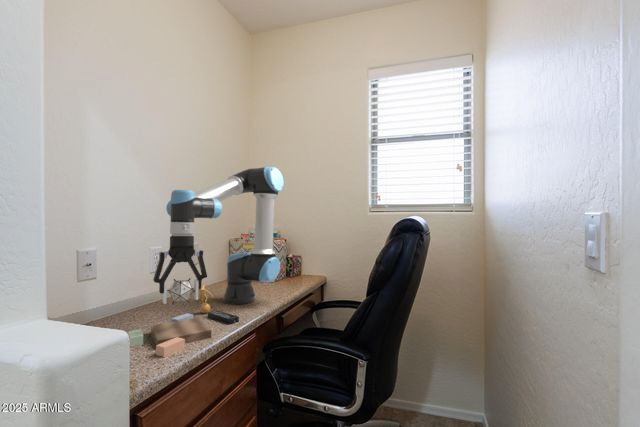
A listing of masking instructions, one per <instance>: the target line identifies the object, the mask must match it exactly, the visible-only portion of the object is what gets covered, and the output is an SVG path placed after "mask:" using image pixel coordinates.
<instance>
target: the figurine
mask: <svg viewBox="0 0 640 427" xmlns="http://www.w3.org/2000/svg"><path fill="white" fill-rule="evenodd" d="M198 293H199V297H200V298H201V303H202V304H201V306H200V308H199V310H200V312H201V313H202V314H208V312H211V306H210V304H209V303H207V300H208V296H207V294H205V293H208V294H209V295H210V296H211V297H212V298H213V297H214V296H213V294H212V293H211V292H210V291H209V290H207V289H206V288H205V285H201V289H198ZM204 299H205V300H204ZM203 301H204V302H203Z"/></svg>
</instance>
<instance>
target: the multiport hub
mask: <svg viewBox="0 0 640 427" xmlns="http://www.w3.org/2000/svg"><path fill="white" fill-rule="evenodd" d="M208 318H209V319H211V320H215V321H218V322H221V323H223V324H227V325H233V324H237V323H239V322H240V317H239V316H238V315H235V314H230V313H228V312H224V311H221V310H217V309H215V310H212V311H209V312H208V313H207V319H208Z"/></svg>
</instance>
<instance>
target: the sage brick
mask: <svg viewBox="0 0 640 427" xmlns="http://www.w3.org/2000/svg"><path fill="white" fill-rule="evenodd" d="M128 335H129V338H130V345H129V347H130V346H131V345H138V346H142V345H141V344H143V345H144V333H143V332H142V329H141V328H140V329H134V330H128V332H127V336H128Z"/></svg>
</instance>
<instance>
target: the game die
mask: <svg viewBox="0 0 640 427" xmlns="http://www.w3.org/2000/svg"><path fill="white" fill-rule="evenodd" d="M190 280H191V277H189V278H188V279H184V280H181V279H180V280H176V279H175V278H174V279H173V281H174V282H173V284H172V285H171V287H170V288H169V289H167V292H168V294H170V296H171V298H172V302H171V305H173V304H175V303H179V302H187V303H188V304H189V303H190V300H189V299H191V296H192V294H193V293H194V292H195V290H194V287H192V284H191V282H190Z"/></svg>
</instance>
